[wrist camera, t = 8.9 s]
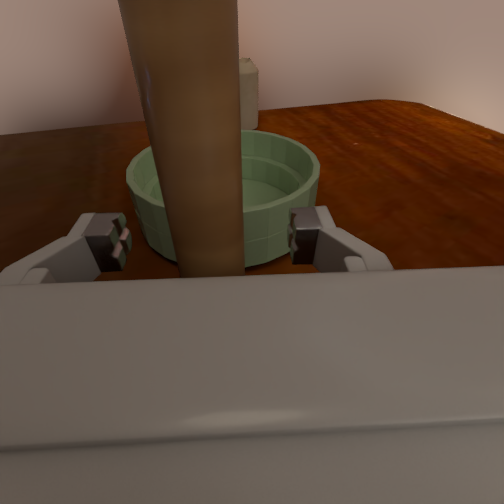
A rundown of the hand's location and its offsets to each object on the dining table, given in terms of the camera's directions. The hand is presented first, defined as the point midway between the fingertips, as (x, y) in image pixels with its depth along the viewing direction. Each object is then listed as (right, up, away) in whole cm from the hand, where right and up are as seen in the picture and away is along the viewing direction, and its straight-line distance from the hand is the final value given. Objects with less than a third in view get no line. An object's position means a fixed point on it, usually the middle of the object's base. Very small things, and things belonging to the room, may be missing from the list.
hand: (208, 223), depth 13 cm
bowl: (-1, +3, +19) cm, 19 cm away
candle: (0, +20, +40) cm, 45 cm away
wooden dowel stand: (0, -8, +6) cm, 11 cm away
